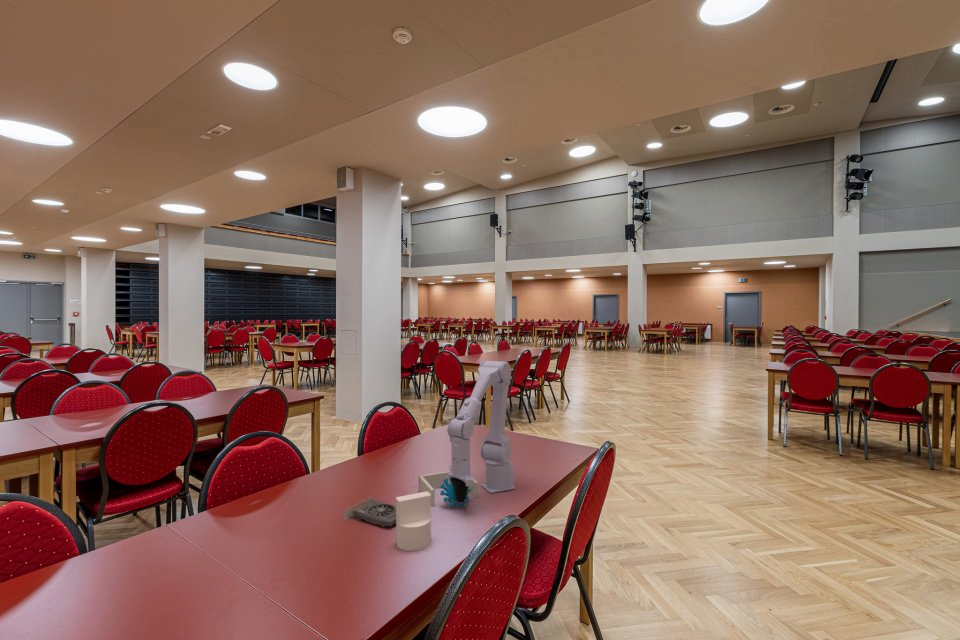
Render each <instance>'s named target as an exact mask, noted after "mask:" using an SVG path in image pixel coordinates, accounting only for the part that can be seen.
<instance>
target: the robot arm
mask: <svg viewBox="0 0 960 640" xmlns="http://www.w3.org/2000/svg"><path fill="white" fill-rule="evenodd" d="M477 373H478V375H477V376H478V377H477V380H476V382H475V385H474V387H473V390H472V392H471V394H470V396H469V397H466V398H465V399H464V402H463V403H462V404H461V407H460V408H459V410H458V413H457V415H456V417H455V418H453V419H452V420H450V421H449V422H448V427H447V429H446V431H447V435H448V436H449V441H450V443H451V444H450V445H451V465H449V471H450V473H448V476H449V477H454V478H451V479H450V480H451V482H452V484H453V487H454V490H455V494H456V499H457V501H456V503H457V504H458V503H460V504H461V503H462V502H465V501H466V499H465V498H466V494H467V490H468V488H469V486H473V479H474V478H473V477H472V473H471V455H470V454H471V450H470V449H471V437H472V436H473V435H474V432H475V425H476V419H477V416H478V415H479V413H480V410H481V409H482V405H481V401H482V399H483V398H484V396H485V395H486V393H487V391H488V389H489V387H490V386H491V387H492V397H491V398H492V399H491V409H490V421H489V433H488V434H486V435H484V436H483V438H482V442H481V446H480V449H479V454H480V457H481V458H482V459H483V462H484V463H485V467H484V468H485V470H484V471H485V473H484V475H485V476H484V477H485V483H484V482H483V483H481V484H480V486H481V487H482V488H484V489H485V490H486V491H488V493H490V494H494V493H500V492H505V491H510V490H515V489H516V487H515V480H514V479H515V478H514V477H515V473H514V472H515V471H514V470H515V469H514V466H513V465H514V464H513V463H512V461H511V460H510V459H511V458H512V445H511V443H512V442H511V441H512V440H511V439H509V437H507V435H506V434H505V429H506V416H507V405H508V396H509V395H508V392H509V386H510V385H511V377H512V367H511V365H510V363H509V362H508V361H499V360H498V361H497V360H487V359H484V360H482V361H481V362H480V364H479V366H478V368H477ZM472 478H473V479H472Z"/></svg>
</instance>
